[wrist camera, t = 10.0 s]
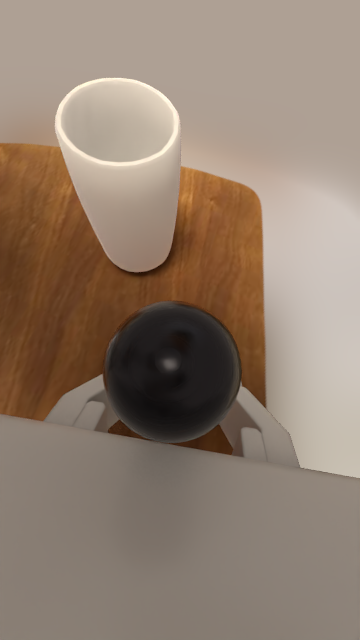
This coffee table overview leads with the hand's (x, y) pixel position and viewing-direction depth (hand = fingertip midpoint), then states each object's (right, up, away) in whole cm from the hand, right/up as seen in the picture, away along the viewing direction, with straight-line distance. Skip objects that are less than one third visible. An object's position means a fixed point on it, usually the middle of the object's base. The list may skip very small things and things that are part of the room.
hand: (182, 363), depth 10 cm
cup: (-5, +11, +18) cm, 22 cm away
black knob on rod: (0, -3, +8) cm, 9 cm away
